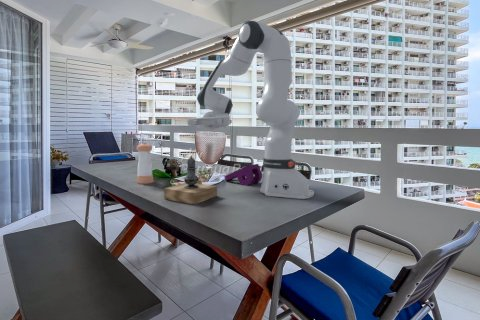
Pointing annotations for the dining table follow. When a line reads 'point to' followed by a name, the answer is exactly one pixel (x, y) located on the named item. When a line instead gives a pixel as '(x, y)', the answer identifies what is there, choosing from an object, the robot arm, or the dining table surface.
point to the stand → (190, 193)
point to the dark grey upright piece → (191, 175)
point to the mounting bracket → (248, 172)
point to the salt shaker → (144, 164)
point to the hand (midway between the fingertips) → (206, 122)
